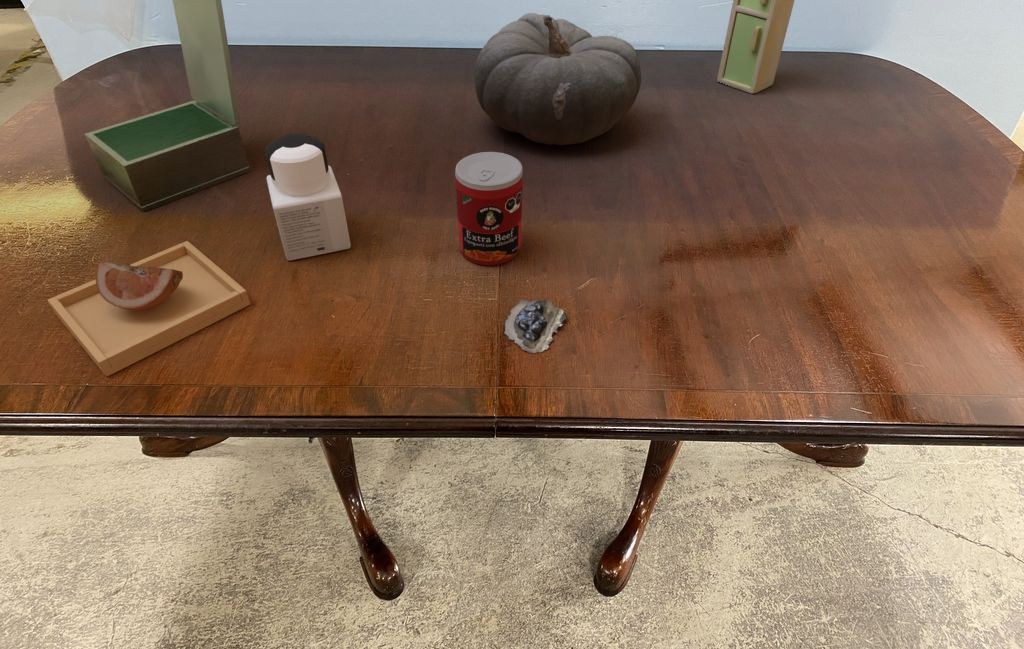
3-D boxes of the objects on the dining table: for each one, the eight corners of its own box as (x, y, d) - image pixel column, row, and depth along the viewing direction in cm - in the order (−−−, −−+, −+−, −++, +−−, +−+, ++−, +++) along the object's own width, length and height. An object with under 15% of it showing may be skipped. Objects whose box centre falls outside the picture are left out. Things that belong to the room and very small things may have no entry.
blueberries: (566, 305, 74) (567, 291, 73) (568, 355, 68) (569, 341, 67) (506, 303, 74) (506, 289, 73) (502, 352, 68) (502, 339, 67)
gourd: (505, 68, 119) (519, -33, 106) (638, 110, 116) (669, 12, 103) (448, 140, 104) (456, 33, 90) (600, 192, 100) (631, 88, 87)
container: (279, 228, 85) (254, 133, 76) (340, 217, 87) (322, 123, 79) (287, 262, 80) (261, 163, 71) (351, 249, 82) (334, 151, 73)
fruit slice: (201, 287, 75) (187, 251, 71) (170, 327, 70) (153, 289, 66) (132, 280, 75) (115, 244, 72) (96, 319, 71) (76, 281, 67)
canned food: (458, 267, 79) (453, 185, 72) (459, 230, 85) (455, 151, 78) (522, 267, 79) (524, 184, 72) (519, 229, 85) (521, 150, 78)
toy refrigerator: (712, 82, 122) (739, -45, 108) (735, 73, 126) (764, -52, 112) (750, 96, 118) (783, -36, 104) (772, 85, 122) (807, -43, 108)
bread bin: (143, 212, 88) (123, 165, 83) (104, 179, 94) (84, 133, 90) (250, 171, 96) (238, 126, 92) (208, 143, 103) (194, 100, 98)
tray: (106, 377, 65) (98, 362, 64) (55, 313, 72) (47, 299, 71) (250, 304, 74) (246, 290, 72) (192, 254, 81) (187, 240, 79)
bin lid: (213, -8, 81) (220, -8, 82) (166, -28, 88) (173, -28, 88) (234, 124, 91) (240, 123, 92) (191, 97, 98) (196, 96, 98)
